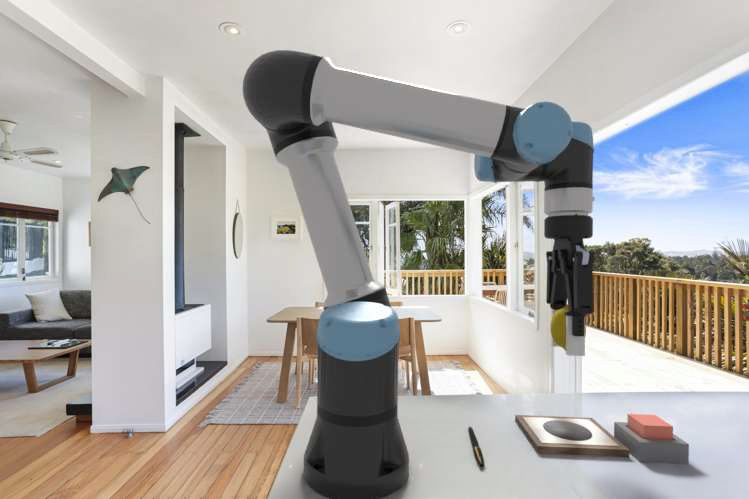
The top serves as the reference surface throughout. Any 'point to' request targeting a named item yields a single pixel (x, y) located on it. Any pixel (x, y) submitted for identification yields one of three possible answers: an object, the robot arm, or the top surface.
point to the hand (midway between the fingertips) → (567, 350)
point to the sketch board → (569, 436)
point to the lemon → (560, 327)
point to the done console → (652, 446)
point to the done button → (650, 427)
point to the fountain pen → (476, 448)
